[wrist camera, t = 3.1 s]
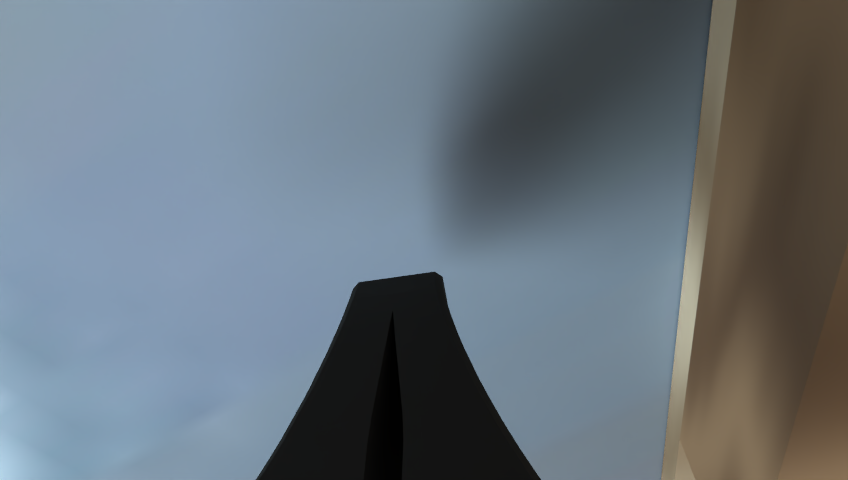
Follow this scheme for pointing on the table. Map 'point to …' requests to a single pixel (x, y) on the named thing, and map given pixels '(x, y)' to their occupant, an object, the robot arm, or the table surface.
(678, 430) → the board
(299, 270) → the table surface
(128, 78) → the table surface
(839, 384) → the t block
